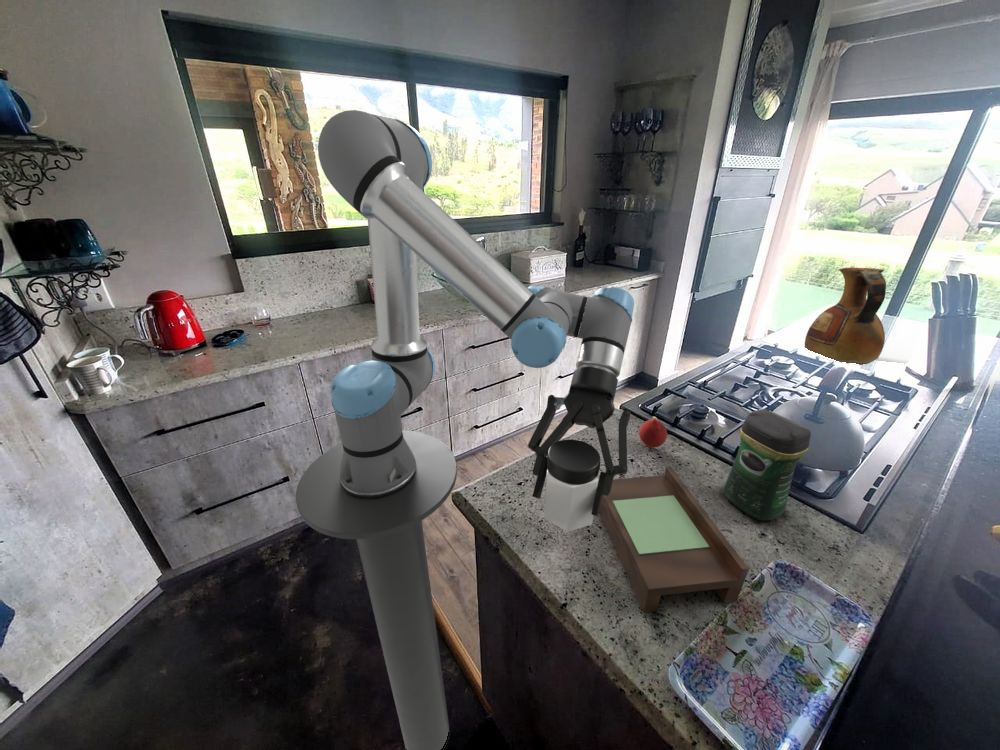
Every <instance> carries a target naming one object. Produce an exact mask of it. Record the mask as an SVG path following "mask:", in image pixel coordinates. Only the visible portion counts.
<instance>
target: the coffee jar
mask: <svg viewBox="0 0 1000 750" xmlns="http://www.w3.org/2000/svg"><path fill="white" fill-rule="evenodd" d="M739 434H740V435H739V436H740V441H739V447H738V450H737V454H736V457H735V459H734V462H733V464H732V466H731V469H730V471H729V473H728V476H727V478H726V480H725V482H724V485H723V489H722V493H723V496H724V497H725V498H726V500H728V501H729V502H730V503H731V504H733V505H734V506H735V507H736V508H737V509H739V510H740V511H742V512H743V513H744V514H746V515H747V516H749V517H751V518H753V519H754V520H758V521H764V522H765V521H768V522H769V521H773V520H775V519H777V518H780V517H781V516H782V515H783V514H784V512H785V510H786V507H787V505H788V504H787V503H788V499H789V494H790V490H791V486H792V482H793V481H792V480H793V477H794V475H795V470H796V467H797V464H798V462H799V460H800V459H801V458H802V457H804V455H806V454H807V452H808V450H809V447H810V442H811V437H812V436H811V435H812V433H811V430H810V429H809V428H807V427H805V426H803V425H801V424H799V423H797V422H794V421H793V420H791V419H788V418H787V417H784V416H782V415H780V414H778V413H775V412H773V411H770V410H769V409H767V408H761V409H757V410H754V411H751V412H749V413H748V414H747V416H746V417H745V418H744V421H743V423H742V425H741V427H740V431H739Z"/></svg>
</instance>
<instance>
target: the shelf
mask: <svg viewBox="0 0 1000 750" xmlns="http://www.w3.org/2000/svg"><path fill="white" fill-rule="evenodd" d="M598 514H599V515H600V517H601V519H602V521H603V524H604V526H605V528H606V530H607V533H608V535H609V537H610V540H611V542H612V544H613V546H614V549H615V551H616V553H617V556H618V558H619V560H620V563H621V564H622V566H623V569H624V572H625V573H626V577H627V578H628V581H629V583H630V585H631V587H632V590H633V592H634V594H635V596H636V598H637V601H638V603H639V606H640V607H641V610H642V612H643V613H653V612H657V611H658V608H659V605H660V600H661V596H666V595H675V594H684V593H685V594H687V593H693V592H703V591H711V590H714V591H715V592H716V594H717V595H718V597H719V598H720V600H721V602H722V603H723V604H729V603H736V602H738V599H739V596H740V593H741V591H742V588H743V585H744V583H745V581H746V578H747V576H748V573H749V570H750V568H749V567H748V565H747V564H746V563H745V561H744V560H743V559H742V557H741V556H740V555H739V554H738V552H737V551H736V550H735V548H734V547H733V546H732V544H731V543H730V541H728V539H727V538H726V536H725V535H724V534H723V533H722V531H721V530H720V529H719V527H718V526H717V524H716V523H715V522H714V521H713V519H712V518H711V517H710V515H709V514H708V513H707V512H706V510H705V509H704V508H703V506H702V505H701V504H700V503H699V501H698V500H697V498H696V497H695V496H694V495H693V493H692V492H691V491H690V490H689V488H688V487H687V485H686V484H685V483H684V482H683V480H682V479H681V478H680V476H679V475H678V474H677V472H676V471H675V469H674V468H673V467H672V466H665V470H664V474H663V475H650V476H640V477H627V478H613V482H612V487H611V492H610V494H609V496H606V495H603V494H602V498H601V503H600V507H599V512H598Z"/></svg>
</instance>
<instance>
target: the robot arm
mask: <svg viewBox="0 0 1000 750" xmlns="http://www.w3.org/2000/svg"><path fill="white" fill-rule="evenodd" d="M317 152H318V160H319V164H320V168H321V169H322V172H323V173H324V175H325V178H326V179H327V181H328V182H329V184H330V185H331V186H332V188H333V189H334V190H335V191H336V192H337V194H339V195H340V197H341V198H342V199H344V201H346V202H347V203H348V204H349V205H350V206H351V207H352V208H353V209H354V210H355V211H356V212H358V213H359V214H360V215H361V216H362V217H363V218H365V219H366V220H367V227H368V239H369V250H370V263H371V273H372V287H373V296H374V297H373V298H374V308H375V309H374V311H375V321H376V331H377V333H376V334H377V337H375V339H373V340H372V342H370V343H371V344H370V350H371V359H372V360H365V361H360V362H358V363H357V364H350V365H348V366H346V367H344V368H343V369H341V371H339V372H338V373H337V374H336V375H335V376H334V378H333V379H332V382H331V385H330V393H331V405H332V409H333V411H334V415H335V420H336V425H337V428H338V432H339V436H340V441H341V443H342V445H343V456H342V462H341V468H340V481H341V485H342V488H343V489H344V491H345V492H346V493H348V494H349V495H351V496H353V497H356V498H361V499H377V498H382V497H386V496H389V495H392V494H394V493H396V492H398V491H400V490H401V489H403V488H404V487H406V486H407V485H408V484H409V483H410V482H411V481H412V479H413V478H414V476H415V474H416V469H417V468H416V460H415V457H414V455H413V453H412V451H411V449H410V448H409V446H408V444H407V442H406V441H405V439H404V437H403V432H402V430H403V425H402V414H404V412H405V411H407V409H408V408H409V407H410V406H411V405H412V404H413V403H414V402H415V401H416V400H417V399H418V398H419V397H420V396H421V394H422V393H424V392H425V391H426V390H427V389H428V388H429V386H430V384H431V383H432V381H433V379H434V377H435V374H436V360H435V357H434V355H433V353H432V352H430V350H429V347H428V342H427V340H426V339H425V338H424V337H423V336H422V335H421V333H420V309H419V308H420V307H419V304H420V303H419V282H418V280H419V279H418V258H419V259H420V260H422V261H423V262H424V263H425V264H426V265H428V267H430V268H431V269H432V270H433V271H434V272H435V273H436V274H437V275H439V277H441V278H442V279H443V280H444V281H445V282H446V283H448V285H450V286H451V287H452V288H453V289H454V290H455V291H456V292H458V293H459V294H460V295H461V296H462V297H463V298H464V299H466V301H468V302H469V304H471V305H472V306H473V307H474V308H475V309H477V310H478V311H479V312H480V313H481V314H482V315H483V316H485V317H486V318H487V319H488V320H489V321H490V322H491V323H492V324H493V325H495V326H496V327H497V328H498V329H499V330H500V331H501V332H502V333H503V334H504V335H505V336H506V337H507V338H508V339H510V347H511V350H512V353H513V355H514V357H515V359H517V361H518V362H519V363H520V364H522V365H524V366H526V367H529V368H533V369H543V368H546V367H548V366H550V365H552V364H553V363H556V360H558V359H559V356H560V355H561V353H562V352H563V349H564V348H565V346H566V343H567V337H571V338H576V339H581V342H580V347H579V350H578V354H577V359H576V362H575V368H576V369H574V370H573V374H572V378H571V382H570V386H569V390H568V392H567V394H566V395H565V396H564V397H559V396H555V395H554V394H550V395H548V397H547V402H546V407H545V410H544V411H543V413H542V416H541V417H540V420H539V422H538V423H537V426H536V428H535V430H534V432H533V433H532V435H531V437H530V438H529V439H530V440H529V441H528V444H527V447H528V449H530V450H531V451H532V452H533V453H535V455H536V457H535V461H534V465H533V467H532V475H533V476H536V481H535V484H534V488H533V492H532V497H533V498H535V499H541V497H542V493H543V491H544V490H543V489H544V485H545V483H546V475H547V454H548V450H549V448H550V446H551V445H553V444H554V443H556V442H558V441H561V440H562V439H563V437H564V436H565V435H566V434H567V432H568V431H569V430H570V429H571V428H572V427H573V426H574V425H576V426H585V427H587V428H589V429H595V431H596V434H597V438H598V443H599V446H600V450H601V454H602V459H603V463H604V466H605V472H604V471H599V476H598V486H597V490H596V495H595V499H594V504H593V509H592V513H591V514H592V515H593V517H594V516H595V517H598V516H599V507H600V503H601V498H602V494H603V495H606V496H609V494H610V492H611V487H612V482H613V480H614V479H615V478H614V477H616V476H617V475H626V474H627V473H628V433H627V430H628V429H627V428H628V425H629V424H630V420H631V411H630V410H628V409H624V410H622V409H619V408H616V407H615V404H614V402H615V397H616V391H617V387H618V384H619V379H618V378H619V376H620V374H621V370H622V366H623V360H624V356H625V351H626V347H627V343H628V339H629V335H630V334H629V333H630V330H631V325H632V322H633V314H634V308H635V300H634V297H633V295H632V294H631V293H630V292H629V291H627V290H625V289H623V288H621V287H617V286H611V287H607V286H603V287H600V288H598V289H597V290H595V292H594V293H593V295H592V296H585V295H580V294H575V293H572V292H569V291H568V292H567V291H562V290H559V289H555V288H551V287H549V286H538V285H529V286H526V285H525V284H524V283H523V281H521V280H520V279H519V278H517V277H516V276H515V274H514V273H512V272H511V271H510V270H509V269H508V268H507V267H506V266H504V264H503V263H501V262H500V261H499V260H498V259H497V258H496V257H495V256H494V255H492V254H491V252H490V251H489V250H488V249H486V248H485V247H484V246H483V245H482V244H481V243H480V242H478V241H477V240H476V239H475V238H474V237H473V236H472V235H471V234H470V233H469V232H468V231H467V230H465V229H464V228H463V226H461V225H460V224H459V223H458V222H457V221H456V220H455V219H454V218H453V217H452V216H450V214H449V213H447V212H446V211H445V210H444V208H442V207H441V206H440V205H438V204H437V203H436V202H435V201H434V200H433V199H432V198H431V197H430V196H428V194H426V193H425V192H424V188H425V187H426V185H427V184H428V182H429V181H430V178H431V175H432V172H433V171H432V170H433V160H432V153H431V150H430V147H429V146H428V143H427V141H426V140H425V138H424V137H423V136H422V135H421V133H420V132H419V131H418V129H416V128H414V127H413V126H412V125H409V124H407V123H406V122H404V121H402V120H400V119H398V118H392V117H387V116H382V115H378V114H372V113H369V112H366V111H363V110H356V109H353V110H352V109H351V110H343V111H341V112H338V113H336V114H334V115H333V116H331V117H329V119H328V120H327V121H326V122H325V124H324V126H323V127H322V129H321V131H320V133H319V137H318V143H317ZM562 406H564V407H565V410H566V411H567V413H566V414H565V415H564V416H563V418H562V420H561V421H560V422H559V423H558V424H557V426H556V427H555V429H554V430H553V431H552V432H551V433H550V434H549V435H548V437H547V438H546V439H545V440H544V438H545V436H546V434H547V432H548V430H549V427H550V426H551V423H552V422H553V420H554V417H555V415H556V412H557V411H559V410H560V409H561V408H562ZM612 416H614V417H615V419H614V420H615V423H616V424H618V465H614V463H613V459H612V455H611V450H610V447H609V443H608V439H607V434H606V431H605V426H604V423H605V422H606V421H607V420H609V419H610V418H611V417H612ZM543 440H544V442H543V443H542V441H543ZM541 443H542V444H541Z"/></svg>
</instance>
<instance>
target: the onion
mask: <svg viewBox="0 0 1000 750" xmlns="http://www.w3.org/2000/svg"><path fill="white" fill-rule="evenodd" d="M638 436H639V438H640V441H641V442H642V443H643V444H644V445H645V446H646V447H647V448H649V449H654V448H658V447H660V446H662V445H664V443H666V441H667V439H668V438H667V437H668V431H667V428H666V426H665V425H664V424H663V422H661V420H659V419H658V418H657V417H656V416H652V418H650V419H648V420H645V421H644V422H643V423H642V424H641V426H640V427H639V431H638Z"/></svg>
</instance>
